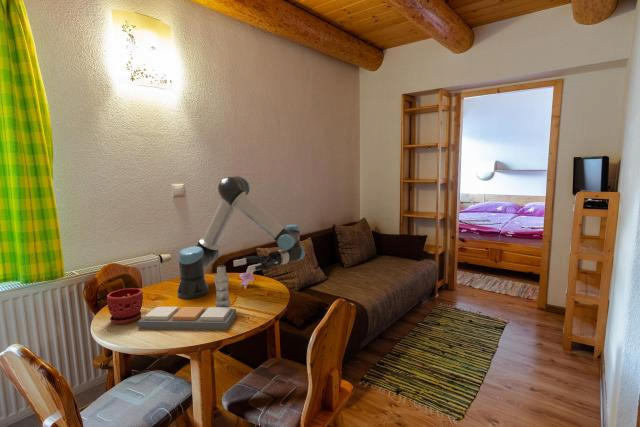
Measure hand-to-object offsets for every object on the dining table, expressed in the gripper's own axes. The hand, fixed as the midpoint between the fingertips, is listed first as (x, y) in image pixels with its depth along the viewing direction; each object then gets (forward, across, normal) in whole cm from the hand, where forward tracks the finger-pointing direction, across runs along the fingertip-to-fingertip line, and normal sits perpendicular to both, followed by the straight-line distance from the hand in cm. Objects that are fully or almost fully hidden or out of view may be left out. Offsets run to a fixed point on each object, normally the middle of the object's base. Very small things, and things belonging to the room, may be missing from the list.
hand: (240, 266), depth 155 cm
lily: (-15, +21, -18) cm, 31 cm away
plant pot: (+44, +20, -18) cm, 52 cm away
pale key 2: (+18, -10, -16) cm, 26 cm away
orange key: (+26, -2, -15) cm, 30 cm away
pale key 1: (+34, +6, -15) cm, 38 cm away
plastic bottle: (+10, 0, -18) cm, 21 cm away
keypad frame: (+26, -2, -18) cm, 32 cm away
